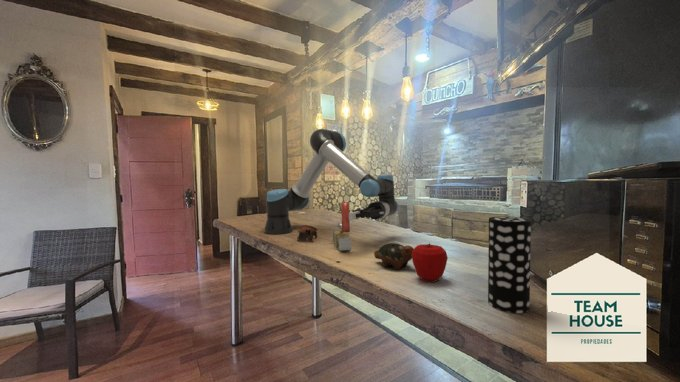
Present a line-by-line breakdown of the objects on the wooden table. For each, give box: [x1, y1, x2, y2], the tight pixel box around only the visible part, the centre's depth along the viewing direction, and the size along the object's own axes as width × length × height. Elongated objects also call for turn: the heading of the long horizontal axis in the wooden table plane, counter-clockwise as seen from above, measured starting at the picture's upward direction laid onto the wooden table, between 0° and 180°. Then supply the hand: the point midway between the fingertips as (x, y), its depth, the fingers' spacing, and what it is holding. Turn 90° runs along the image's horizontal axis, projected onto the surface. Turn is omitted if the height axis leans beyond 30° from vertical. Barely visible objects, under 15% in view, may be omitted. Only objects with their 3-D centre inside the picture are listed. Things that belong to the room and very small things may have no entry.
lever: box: [337, 202, 351, 233], centre depth 118 cm, size 15×3×11 cm, turn 8°
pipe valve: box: [332, 227, 352, 252], centre depth 125 cm, size 19×6×8 cm, turn 9°
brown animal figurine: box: [297, 224, 318, 243], centre depth 139 cm, size 12×10×8 cm
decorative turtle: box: [373, 242, 415, 271], centre depth 97 cm, size 10×15×8 cm, turn 53°
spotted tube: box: [487, 216, 532, 314], centre depth 67 cm, size 8×8×20 cm
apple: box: [411, 242, 449, 283], centre depth 84 cm, size 10×10×11 cm
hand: (349, 216), depth 110 cm, fingers closed
